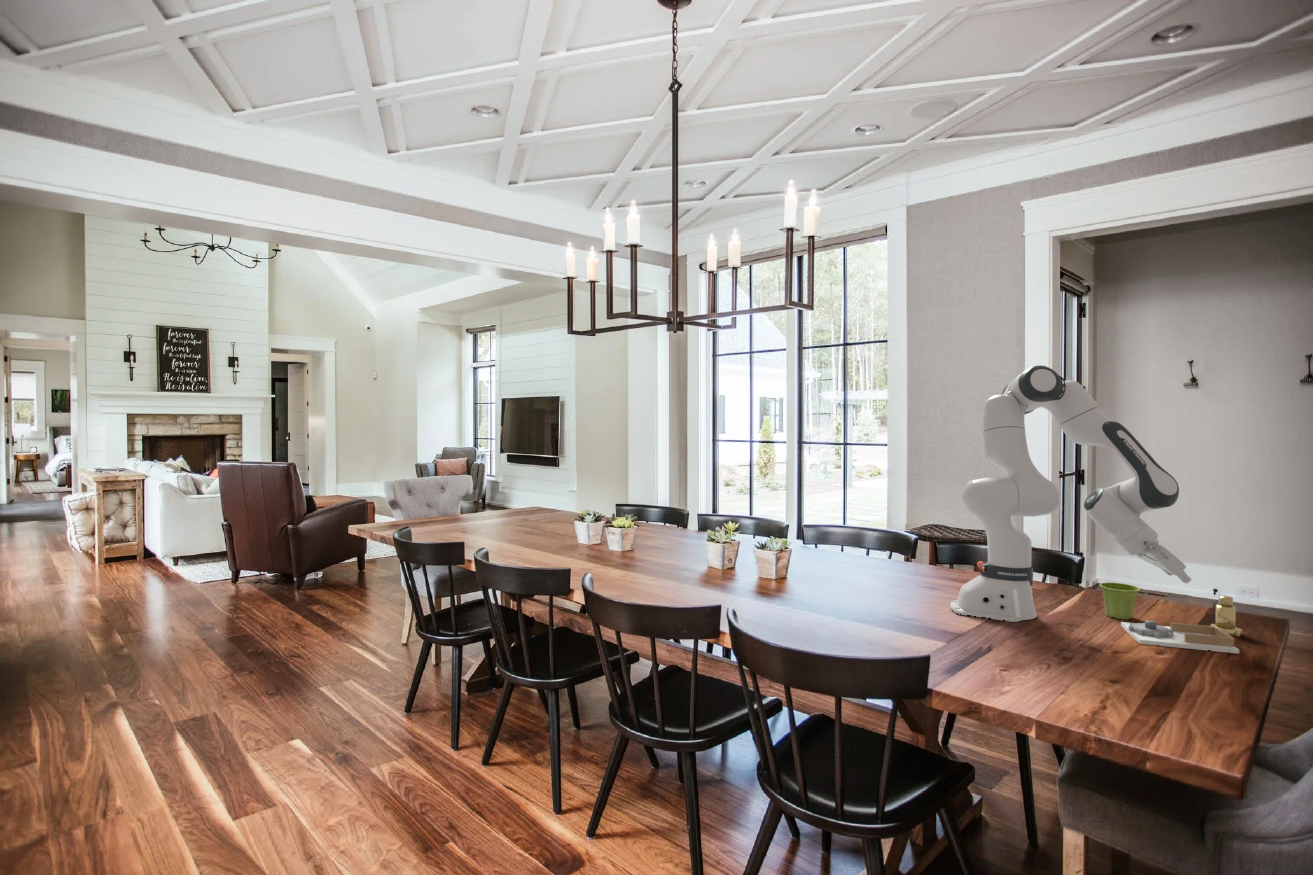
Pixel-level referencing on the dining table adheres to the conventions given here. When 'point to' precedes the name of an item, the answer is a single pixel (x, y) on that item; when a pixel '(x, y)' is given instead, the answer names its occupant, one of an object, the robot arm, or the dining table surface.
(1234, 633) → the brass gear shaft
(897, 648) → the dining table surface
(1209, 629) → the gear board
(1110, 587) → the plant pot
